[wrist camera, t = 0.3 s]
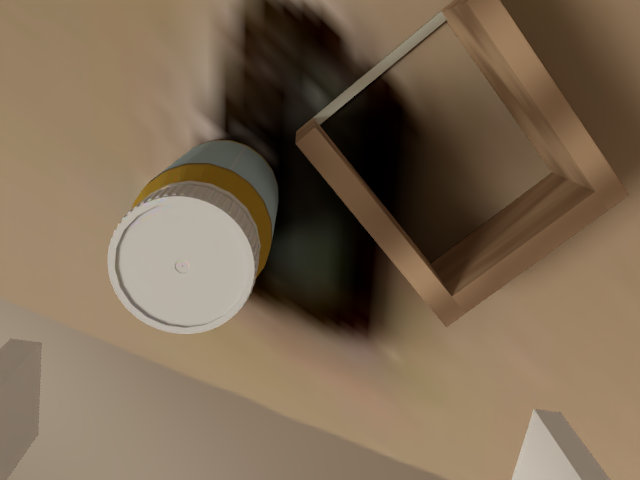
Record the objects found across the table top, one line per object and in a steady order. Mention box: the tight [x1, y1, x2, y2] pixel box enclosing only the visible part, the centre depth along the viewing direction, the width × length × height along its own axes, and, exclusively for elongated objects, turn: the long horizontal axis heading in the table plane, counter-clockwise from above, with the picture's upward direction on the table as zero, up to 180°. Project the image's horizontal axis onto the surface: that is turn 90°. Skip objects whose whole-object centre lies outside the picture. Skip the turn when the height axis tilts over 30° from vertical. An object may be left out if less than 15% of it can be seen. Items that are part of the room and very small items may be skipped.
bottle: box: [108, 140, 278, 334], centre depth 32 cm, size 7×7×15 cm
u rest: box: [295, 0, 629, 327], centre depth 36 cm, size 14×13×6 cm
